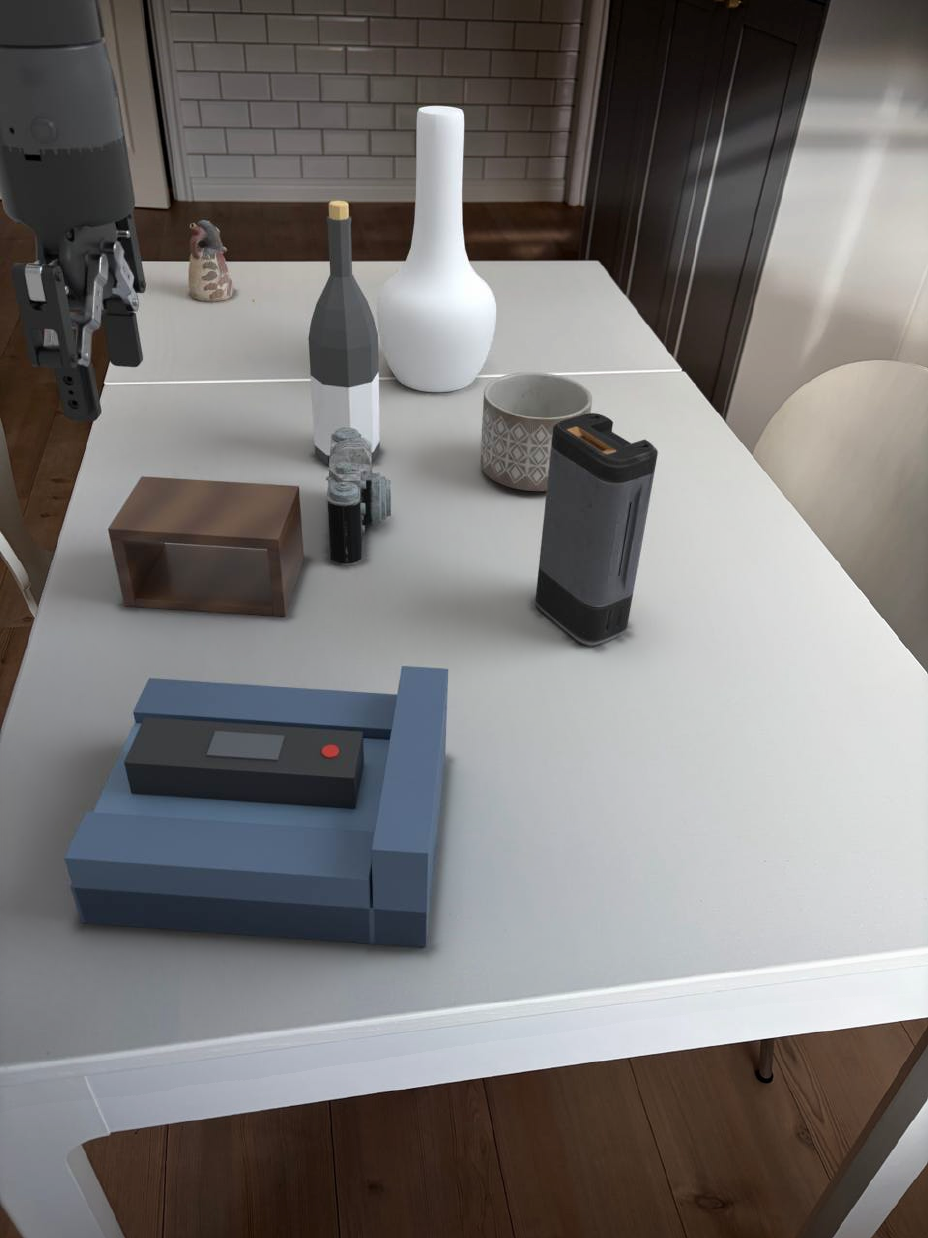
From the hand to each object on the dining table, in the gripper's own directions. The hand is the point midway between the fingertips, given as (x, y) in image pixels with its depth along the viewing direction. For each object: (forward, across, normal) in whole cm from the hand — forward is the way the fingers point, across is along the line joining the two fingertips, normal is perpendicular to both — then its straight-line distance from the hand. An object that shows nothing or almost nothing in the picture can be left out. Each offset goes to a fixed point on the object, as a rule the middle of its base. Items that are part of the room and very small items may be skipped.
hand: (106, 390), depth 67 cm
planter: (+30, -47, +31) cm, 64 cm away
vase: (+30, -74, +17) cm, 82 cm away
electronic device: (+30, -18, +36) cm, 50 cm away
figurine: (+30, -102, -23) cm, 109 cm away
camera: (+30, -32, +12) cm, 46 cm away
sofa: (+30, +12, +12) cm, 35 cm away
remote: (+24, +12, +10) cm, 29 cm away
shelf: (+30, -20, -1) cm, 36 cm away
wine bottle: (+30, -49, +8) cm, 58 cm away
